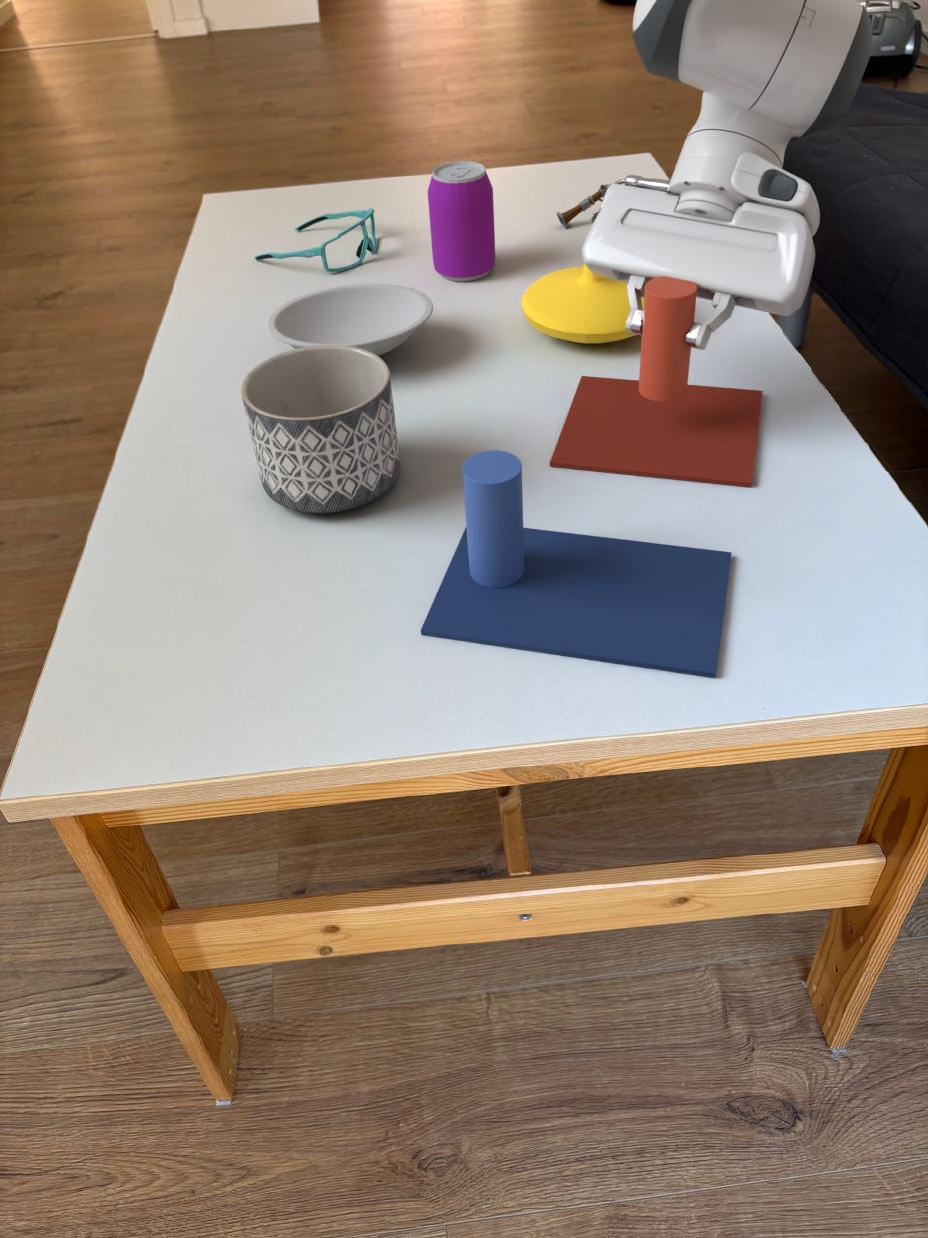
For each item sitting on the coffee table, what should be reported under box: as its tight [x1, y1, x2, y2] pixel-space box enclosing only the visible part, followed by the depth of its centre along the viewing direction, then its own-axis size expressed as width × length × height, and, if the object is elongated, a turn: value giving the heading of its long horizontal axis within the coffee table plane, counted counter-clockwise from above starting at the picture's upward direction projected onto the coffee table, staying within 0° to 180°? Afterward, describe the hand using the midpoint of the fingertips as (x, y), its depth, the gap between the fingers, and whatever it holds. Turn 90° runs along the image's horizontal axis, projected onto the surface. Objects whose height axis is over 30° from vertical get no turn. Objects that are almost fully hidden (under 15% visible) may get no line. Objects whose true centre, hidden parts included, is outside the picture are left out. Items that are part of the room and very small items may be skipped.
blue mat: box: [420, 526, 732, 679], centre depth 80 cm, size 22×14×1 cm, turn 75°
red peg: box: [638, 276, 697, 402], centre depth 91 cm, size 4×4×10 cm
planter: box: [240, 345, 401, 514], centre depth 90 cm, size 13×13×10 cm
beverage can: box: [427, 160, 496, 282], centre depth 122 cm, size 8×8×12 cm
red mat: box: [549, 375, 764, 488], centre depth 97 cm, size 18×16×1 cm
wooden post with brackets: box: [555, 183, 612, 230], centre depth 134 cm, size 2×8×4 cm, turn 106°
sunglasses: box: [253, 207, 378, 273], centre depth 132 cm, size 14×15×5 cm
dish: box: [266, 283, 434, 357], centre depth 110 cm, size 18×14×5 cm
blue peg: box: [462, 449, 524, 588], centre depth 79 cm, size 4×4×10 cm
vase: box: [520, 262, 644, 344], centre depth 111 cm, size 16×16×7 cm
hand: (664, 339), depth 90 cm, fingers closed on red peg, 4 cm apart
